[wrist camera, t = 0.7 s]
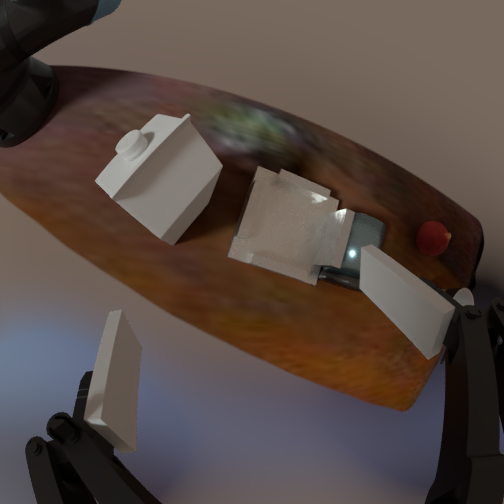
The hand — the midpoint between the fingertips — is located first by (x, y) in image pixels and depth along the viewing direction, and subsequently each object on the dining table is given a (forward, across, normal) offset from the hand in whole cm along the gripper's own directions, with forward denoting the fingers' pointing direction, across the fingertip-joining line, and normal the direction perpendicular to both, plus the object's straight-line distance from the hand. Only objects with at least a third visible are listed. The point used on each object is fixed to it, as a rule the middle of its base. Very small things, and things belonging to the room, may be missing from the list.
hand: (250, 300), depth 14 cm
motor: (+21, +12, -8) cm, 25 cm away
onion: (+20, +33, -13) cm, 41 cm away
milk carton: (+23, -5, 0) cm, 24 cm away
